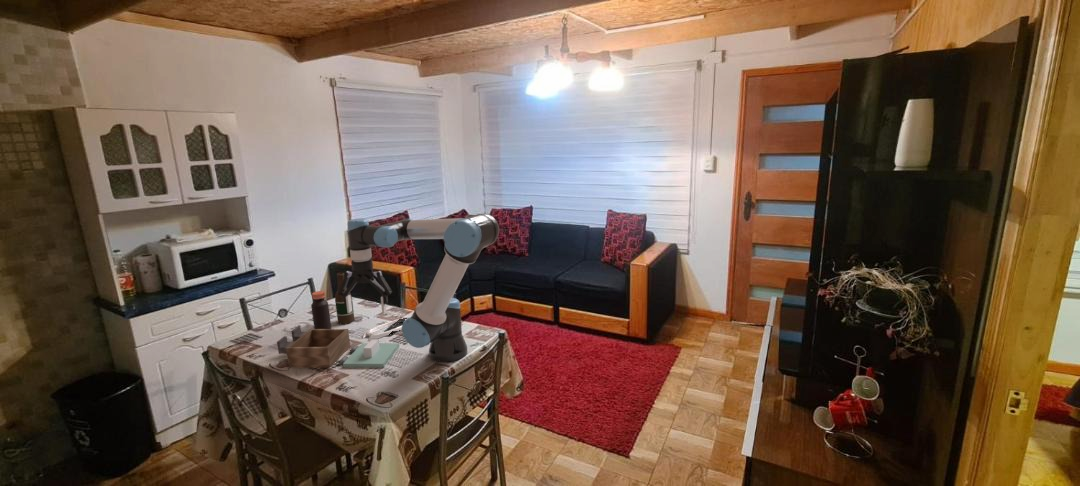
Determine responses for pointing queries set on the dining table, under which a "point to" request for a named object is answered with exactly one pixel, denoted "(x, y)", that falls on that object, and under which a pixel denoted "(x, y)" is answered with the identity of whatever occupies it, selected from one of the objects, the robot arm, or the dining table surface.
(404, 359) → the dining table surface
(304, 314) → the dining table surface
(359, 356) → the door
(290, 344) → the cabinet
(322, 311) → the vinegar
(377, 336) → the door handle
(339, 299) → the beer bottle
